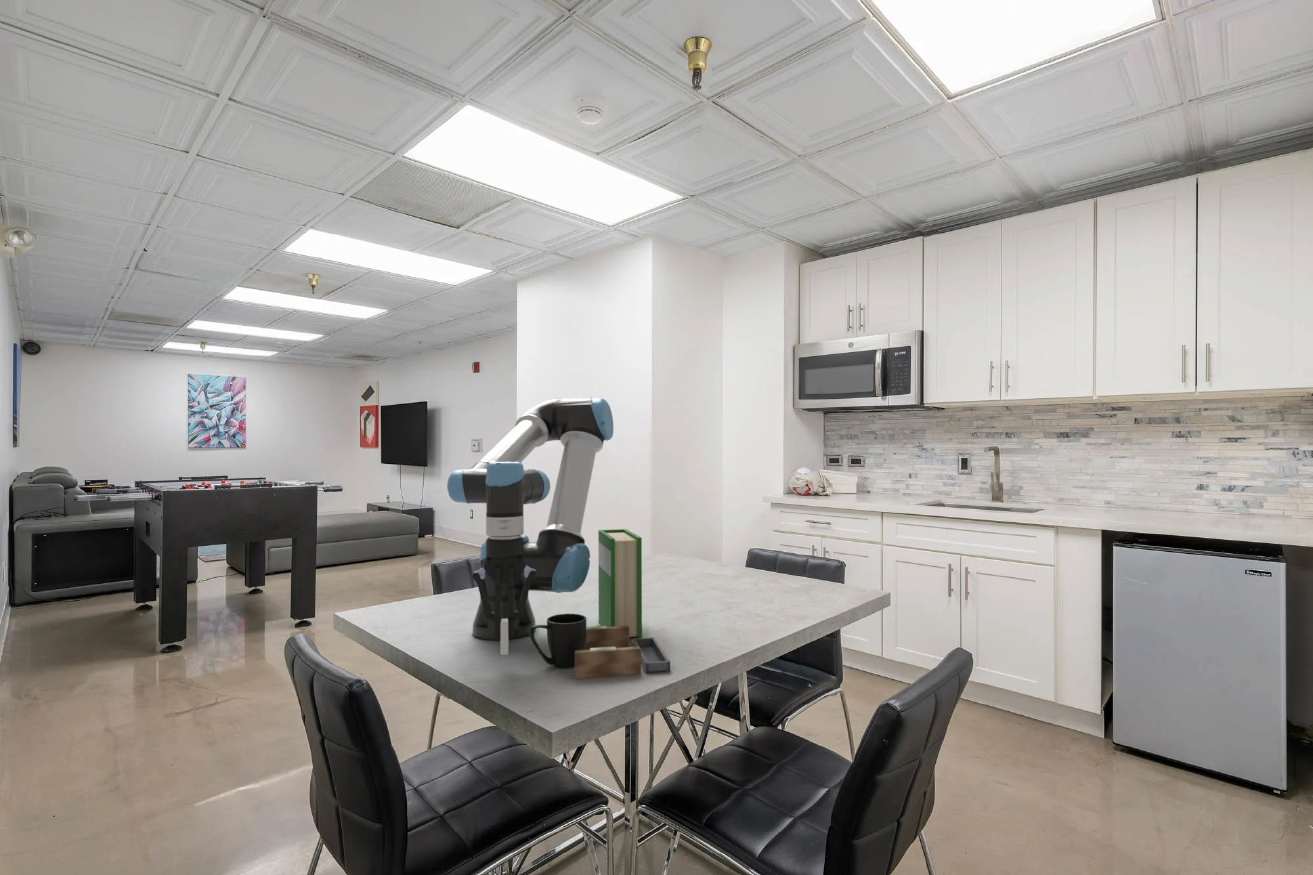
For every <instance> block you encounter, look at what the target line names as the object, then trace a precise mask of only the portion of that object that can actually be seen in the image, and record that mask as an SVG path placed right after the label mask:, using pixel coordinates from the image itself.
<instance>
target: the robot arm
mask: <svg viewBox="0 0 1313 875" xmlns="http://www.w3.org/2000/svg"><path fill="white" fill-rule="evenodd" d="M612 413H613V412H612V410H611V406H610V404H609V402H608V401H607V400H605V399H604V398H601V397H597V398H596V397H589V398H587V397H586V398H554V399H548V400H546V401H544V402H541V403H540V404H537V405H535V406H534V407H532V408H529V410H527V411H526V412H525V413H524V414H522V415H521V416H520V417H519V418H518V419H517V420H516V422H515V424H514V425H515V426H514V427H513V429H511V430H509V432H508V433H507V434H506V435H505V436H504V437H503V438H501V439H500V441H499V442H497V443H496V444H495V445H494V446H493V447H492V448H491V449H490V450H489V451H488V452H487V453H486V454H484V456H482V457H481V458H480V459H479V460H478V461H477V462H475V464H474V465H473V466H472V467H470V468H469V469H465V468H462V469H457V470H453V471H452V472H451V473H450V475H449V476H448V480H447V483H446V486H447V488H446V489H447V492H448V496H449V498H450V499H451V500H452V501H453V502H456V503H463V504H468V505H470V504H486V505H485V506H486V508H485V510H486V512H485V513H486V514H485V535H486V536H487V537H488V538H486V539H485V542H484V543H482V544H481V547H480V554H479V569H478V570H474V571H473V573H472V576H471V577H472V579H473V580H474V582H475V583H476V584H477V587H478V588H477V589H478V592H479V598H480V600H479V603H478V608H477V610H476V613H475V617H474V620H473V622H472V635H473V636H474V637H476V638H479V639H482V640H483V639H484V640H492V641H494V640H496V641H498V640H500V655H502V656H503V655H504V656H505V655H509V648H510V647H509V646H510V644H509V641H510V639H511V640H512V639H518V638H522V637H525V636H528V635H529V636H530V628H531V627H532V626H536V619H535V615H534V611H533V609H532V607H531V603H530V599H529V591H531V592H532V591H534V592H535V591H536V592H551V593H557V594H562V593H574V592H576V591H578V590H579V589H580V588H581V587H582V586H583V585H584V583H585V580H586V579H587V576H588V574H589V570H590V566H591V565H590V563H591V561H590V558H591V553H590V548H589V547H588V546H587V545H586V544H585V543H586V541H585V538H584V537H583V535H582V534H581V531H582V526H583V522H584V516H585V511H586V506H587V500H588V495H589V489H590V485H591V480H592V473H593V470H594V464H595V459H596V454H597V453H599V452H600V451H602V449H603V447H604V442H605V441H607V442H608V441H610V440H611V439H612V438H613V436H614V417H613V414H612ZM551 441H560V443H561V445H562V446H563V447H564V448H563V450H562V451H563V452H562V455H561V461H560V464H559V470H558V475H557V478H556V482H555V486H554V492H553V497H552V502H551V506H550V510H549V515H548V518H547V523H546V524H547V525H546V527H545V528H543V529H542V530H540V531H539V532H538V536H537V540H536V541H535V542H531V541H530V539H529V536H528V535H523V534H524V530H525V529H524V525H525V524H524V520H525V519H524V516H525V515H524V505H529V504H532V505H535V504H537V503H539V502H541V501H543V500H545V499H546V498H547V497H548V495H549V494H550V492H551V483H550V479H549V477H548V475H547V474H546V473H545V472H543V471H541V470H539V469H534V468H533V469H529V468H528V469H524V464H523V461H524V460H525V459H526V458H527V457H528V456H529V455H530V453H532V452H533V451H534V449H535V448H538V447H541V446H544V445H545V443H546V442H551ZM535 631H536V629H534V632H535Z"/></svg>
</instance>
